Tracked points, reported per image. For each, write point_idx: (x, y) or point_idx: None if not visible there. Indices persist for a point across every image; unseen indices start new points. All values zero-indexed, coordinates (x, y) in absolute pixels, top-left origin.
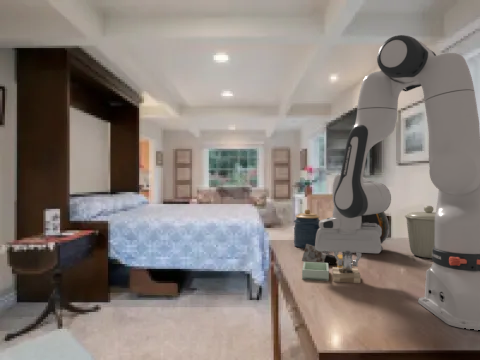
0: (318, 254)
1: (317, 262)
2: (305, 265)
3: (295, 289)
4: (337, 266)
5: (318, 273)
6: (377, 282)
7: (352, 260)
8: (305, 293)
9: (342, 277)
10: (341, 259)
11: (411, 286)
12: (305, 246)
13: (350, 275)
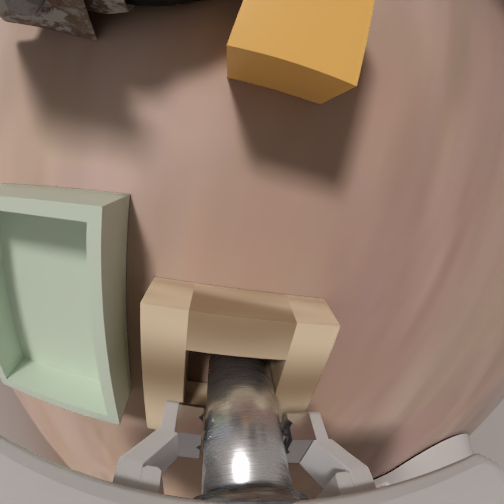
0: None
1: (25, 200)
2: None
3: (48, 439)
4: (230, 73)
5: (73, 398)
6: (370, 383)
7: (291, 437)
8: (83, 464)
9: None
10: (197, 435)
11: (448, 390)
12: None
13: None
